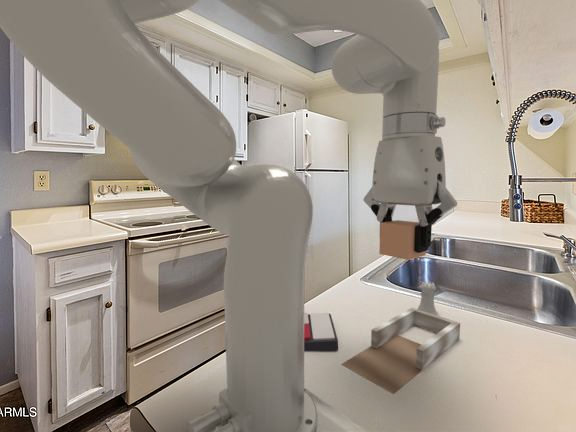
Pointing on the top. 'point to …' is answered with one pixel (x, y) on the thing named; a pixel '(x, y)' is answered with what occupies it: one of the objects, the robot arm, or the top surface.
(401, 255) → the block
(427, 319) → the metal sorting tray
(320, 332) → the calculator
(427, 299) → the rook chess piece
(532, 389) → the top surface
